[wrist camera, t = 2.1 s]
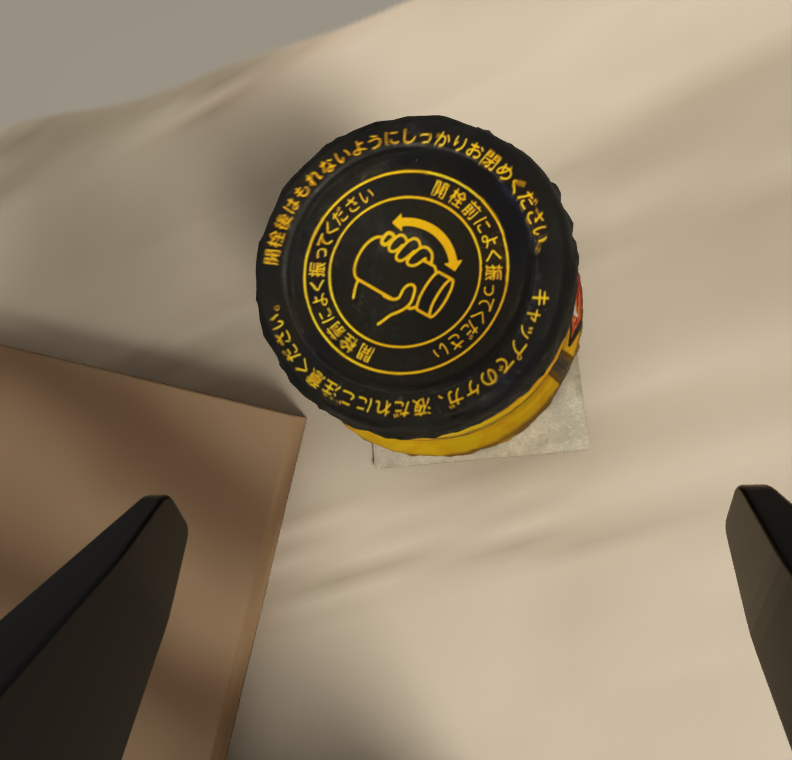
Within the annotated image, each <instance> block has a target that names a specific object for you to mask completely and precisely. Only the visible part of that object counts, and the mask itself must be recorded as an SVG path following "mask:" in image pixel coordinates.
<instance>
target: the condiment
mask: <svg viewBox="0 0 792 760" xmlns="http://www.w3.org/2000/svg"><path fill="white" fill-rule="evenodd" d="M572 232H573V222H572V220H571V218H570V216H569V215H568V213H567V212H566V210H565V209H564V208H563V206H562V203H561V192H560V190H559V188H558V186H557V185H556V184H554V183H552V182H550V180H549V178H548V177H547V175H546V174H545V172H544V171H543V170H542V169H541V168H540V167H539V166H538V165H537V164H536V163H535V162H534V161H533V160H532V159H531V157H529V156H528V155H527V154H525V153H524V152H523V151H521V150H519V149H518V148H516V147H514V146H513V145H512V144H510V143H507V142H505V141H503V140H501V139H499V138H498V137H496V136H494V135H493V134H492V133H491V132H490V131H489V130H483V129H481V128H479V127H477V128H476V127H473V126H470V125H467V124H465V123H462V122H459V121H457V120H454V119H452V118H449V117H445V116H440V115H431V116H406V117H403V118H399V119H395V120H388V121H379V122H374V123H372V124H369V125H367V126H364V127H361V128H359V129H356V130H354V131H352V132H350V133H348V134H347V135H344V136H341V137H338V138H336V139H335V140H334V141H332V142H330V143H329V144H327V145H325V146H324V147H323V148H322V149H321V150H320V151H319V152H318V153H317V154H316V155H315V156H314V157H313V158H312V159H311V160H310V161H309V162H307V163H306V164H305V165H304V166H303V167H302V168H301V169H300V170H299V171H298V172H297V173H296V174H295V175H294V176H293V177H292V178H291V179H290V180H289V182H288V183H287V184H286V185H285V186H284V188H283V189H282V191H281V194H280V196H279V198H278V201H277V203H276V206H275V208H274V210H273V212H272V214H271V216H270V218H269V221H268V224H267V227H266V230H265V232H264V235H263V237H262V239H261V240H260V242H259V245H258V252H257V261H256V288H257V289H256V301H257V303H258V307H259V316H260V322H261V326H262V331H263V335H264V337H265V339H266V340H267V342H268V343H269V345H270V346H271V348H272V349H273V351H274V352H275V354H276V356H277V357H278V360H279V365H280V366H281V368H282V369H283V370H284V371H285V372H286V374H287V376H288V379H289V381H290V383H292V384H293V385H294V386H295V387H296V388H297V389H298V390H299V391H300V392H301V393H302V394H303V395H304V396H305V397H306V398H308V399H309V400H311V401H312V402H314V403H315V404H317V406H318V408H319V409H321V410H325V411H326V412H328V413H329V414H331V415H332V416H334V417H336V418H338V419H339V420H340V421H341V422H342V423H343V424H344V425H345V426H346V427H348V428H349V429H350V430H352V431H353V432H355V433H356V434H358V435H359V436H360V437H362V438H363V439H364V440H366V441H369V442H371V443H373V451H374V469H378V468H389V467H400V466H411V465H422V464H432V463H443V462H456V461H466V460H477V459H488V458H499V457H510V456H521V455H535V454H541V453H555V452H566V451H578V450H588V449H590V446H589V438H588V431H587V424H586V416H585V409H584V402H583V395H582V386H581V378H580V372H579V364H578V356H577V352H578V350H579V348H580V346H579V340H580V336H581V333H582V323H583V321H582V318H583V308H582V306H583V297H582V286H581V282H580V275H579V272H578V265H579V254H578V251H577V244H576V241H575V240H574V238H573V237H572Z"/></svg>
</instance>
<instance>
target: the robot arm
mask: <svg viewBox="0 0 792 760" xmlns="http://www.w3.org/2000/svg"><path fill="white" fill-rule="evenodd" d="M726 535H727V539H728V544H729V548H730V552H731V556H732V561H733V565H734V569H735V573H736V578H737V582H738V586H739V590H740V595H741V599H742V603H743V607H744V612H745V616H746V620H747V624H748V628H749V631H750V635H751V638H752V641H753V644H754V647H755V650H756V653H757V656H758V659H759V661H760V664H761V667H762V670H763V672H764V675H765V678H766V681H767V683H768V686H769V689H770V692H771V694H772V697H773V700H774V703H775V706H776V708H777V711H778V714H779V717H780V719H781V722H782V725H783V728H784V730H785V733H786V736H787V739H788V741H789V744H790V747H791V750H792V503H790V502H789V501H788V500H787V499H786V498H785V497H783V496H782V495H781V494H780V493H779V492H778V491H777V490H775V489H774V488H773V487H771V486H768V485H740V486H738V487H737V488H736V490H735V492H734V495H733V499H732V502H731V505H730V508H729V512H728V515H727V518H726ZM187 539H188V525H187V522H186V520H185V519H184V517H183V515H182V514H181V512H180V510H179V509H178V507H177V505H176V504H175V502H174V500H173V499H172V498H171V497H170V496H168V495H147V496H144V497H142V498H141V499H140V500H139V501H137V502H136V503H135V504H134V505H133V506H132V507H130V508H129V509H128V510H127V511H126V512H125V513H123V514H122V515H121V516H120V517H119V518H118V519H116V520H115V521H114V522H113V523H112V524H111V525H109V526H108V527H107V528H106V529H105V530H104V531H103V532H101V533H100V534H99V535H98V536H97V537H96V538H94V539H93V540H92V541H91V542H90V543H89V544H87V545H86V546H85V547H84V548H83V549H82V550H80V551H79V552H78V553H77V554H76V555H75V556H73V557H72V558H71V559H70V560H69V561H68V562H67V563H65V564H64V565H63V566H62V567H61V568H60V569H58V570H57V571H56V572H55V573H54V574H53V575H51V576H50V577H49V578H48V579H47V580H46V581H44V582H43V583H42V584H41V585H40V586H39V587H38V588H36V589H35V590H34V591H33V592H32V593H31V594H29V595H28V596H27V597H26V598H25V599H24V600H22V601H21V602H20V603H19V604H18V605H17V606H15V607H14V608H13V609H12V610H11V611H10V612H8V613H7V614H6V615H5V616H4V617H3V618H2V619H0V760H122V757H123V754H124V751H125V748H126V745H127V742H128V740H129V737H130V734H131V731H132V728H133V725H134V722H135V719H136V716H137V713H138V710H139V707H140V704H141V701H142V698H143V695H144V692H145V689H146V686H147V683H148V680H149V678H150V675H151V672H152V669H153V666H154V663H155V660H156V657H157V654H158V651H159V648H160V645H161V642H162V639H163V636H164V633H165V630H166V627H167V624H168V620H169V617H170V613H171V609H172V605H173V601H174V596H175V592H176V588H177V583H178V579H179V574H180V570H181V566H182V561H183V557H184V552H185V548H186V544H187Z"/></svg>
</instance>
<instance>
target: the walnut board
mask: <svg viewBox="0 0 792 760" xmlns="http://www.w3.org/2000/svg"><path fill="white" fill-rule="evenodd" d="M306 419H307V418H305V417H301V416H296V415H292V414H288V413H284V412H280V411H275V410H271V409H267V408H263V407H259V406H255V405H250V404H246V403H242V402H238V401H234V400H229V399H225V398H221V397H217V396H213V395H209V394H204V393H200V392H196V391H192V390H188V389H183V388H179V387H175V386H171V385H167V384H163V383H158V382H154V381H150V380H146V379H142V378H137V377H133V376H129V375H125V374H121V373H117V372H112V371H108V370H104V369H100V368H96V367H91V366H87V365H83V364H79V363H75V362H70V361H66V360H62V359H58V358H54V357H50V356H45V355H41V354H37V353H33V352H29V351H24V350H20V349H16V348H12V347H8V346H4V345H0V619H2V618H3V617H4V616H5V615H6V614H7V613H8V612H10V611H11V610H12V609H13V608H14V607H15V606H17V605H18V604H19V603H20V602H21V601H22V600H24V599H25V598H26V597H27V596H28V595H29V594H31V593H32V592H33V591H34V590H35V589H36V588H38V587H39V586H40V585H41V584H42V583H43V582H44V581H46V580H47V579H48V578H49V577H50V576H51V575H53V574H54V573H55V572H56V571H57V570H58V569H60V568H61V567H62V566H63V565H64V564H65V563H67V562H68V561H69V560H70V559H71V558H72V557H73V556H75V555H76V554H77V553H78V552H79V551H80V550H82V549H83V548H84V547H85V546H86V545H87V544H89V543H90V542H91V541H92V540H93V539H94V538H96V537H97V536H98V535H99V534H100V533H101V532H103V531H104V530H105V529H106V528H107V527H108V526H109V525H111V524H112V523H113V522H114V521H115V520H116V519H118V518H119V517H120V516H121V515H122V514H123V513H125V512H126V511H127V510H128V509H129V508H130V507H132V506H133V505H134V504H135V503H136V502H137V501H139V500H140V499H141V498H142V497H144V496H147V495H168V496H170V497H171V498H172V499H173V500H174V502H175V504H176V505H177V507H178V509H179V510H180V512H181V514H182V515H183V517H184V519H185V520H186V522H187V525H188V539H187V544H186V548H185V552H184V557H183V561H182V566H181V570H180V574H179V579H178V583H177V588H176V592H175V596H174V601H173V605H172V609H171V613H170V617H169V620H168V624H167V627H166V630H165V633H164V636H163V639H162V642H161V645H160V648H159V651H158V654H157V657H156V660H155V663H154V666H153V669H152V672H151V675H150V678H149V680H148V683H147V686H146V689H145V692H144V695H143V698H142V701H141V704H140V707H139V710H138V713H137V716H136V719H135V722H134V725H133V728H132V731H131V734H130V737H129V740H128V742H127V745H126V748H125V751H124V754H123V757H122V760H226V756H227V751H228V747H229V743H230V739H231V734H232V730H233V726H234V722H235V718H236V713H237V709H238V705H239V701H240V697H241V692H242V688H243V684H244V680H245V676H246V671H247V667H248V663H249V659H250V654H251V650H252V646H253V642H254V638H255V633H256V629H257V625H258V621H259V617H260V612H261V608H262V604H263V600H264V596H265V591H266V587H267V583H268V579H269V574H270V570H271V566H272V562H273V558H274V553H275V549H276V545H277V541H278V537H279V532H280V528H281V524H282V520H283V516H284V511H285V507H286V503H287V499H288V494H289V490H290V486H291V482H292V478H293V473H294V469H295V465H296V461H297V457H298V452H299V448H300V444H301V440H302V436H303V431H304V427H305V423H306Z"/></svg>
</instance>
